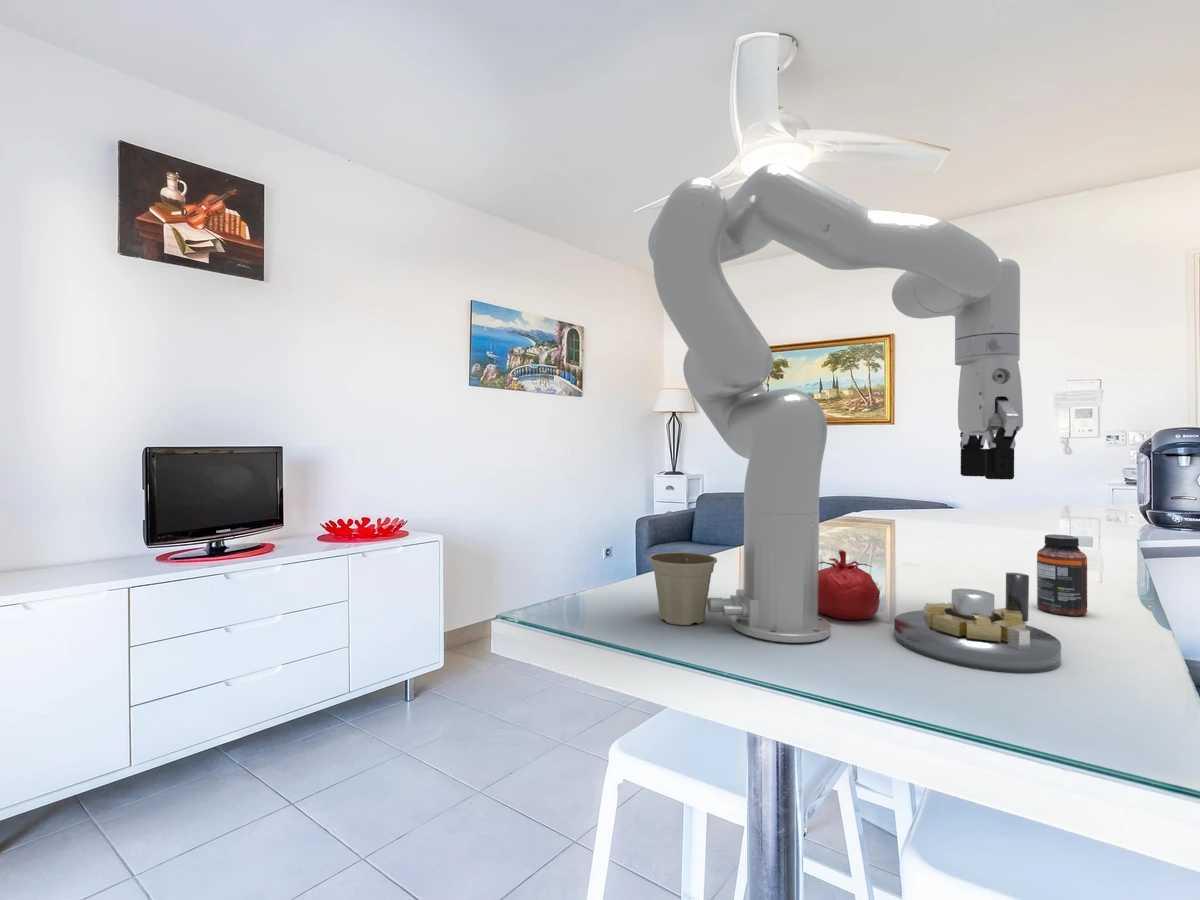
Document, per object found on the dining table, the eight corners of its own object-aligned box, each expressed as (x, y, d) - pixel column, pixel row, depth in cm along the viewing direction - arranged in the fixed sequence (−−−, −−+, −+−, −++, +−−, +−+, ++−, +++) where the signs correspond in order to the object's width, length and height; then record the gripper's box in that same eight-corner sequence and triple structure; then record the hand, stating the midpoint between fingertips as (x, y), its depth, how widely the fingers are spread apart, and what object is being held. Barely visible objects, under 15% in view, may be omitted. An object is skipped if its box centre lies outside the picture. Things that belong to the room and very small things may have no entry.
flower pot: (643, 610, 86) (643, 551, 85) (706, 609, 86) (706, 551, 86) (654, 630, 76) (655, 564, 76) (725, 629, 77) (725, 563, 77)
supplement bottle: (1068, 606, 90) (1069, 533, 90) (1097, 618, 84) (1098, 539, 84) (1027, 605, 91) (1028, 532, 91) (1053, 616, 85) (1054, 538, 85)
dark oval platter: (954, 674, 62) (955, 613, 62) (867, 626, 79) (868, 578, 79) (1102, 671, 63) (1102, 611, 63) (985, 624, 80) (985, 576, 80)
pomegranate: (833, 627, 78) (834, 558, 78) (794, 607, 88) (794, 546, 88) (897, 623, 80) (898, 556, 80) (852, 604, 90) (853, 544, 90)
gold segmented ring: (988, 645, 65) (989, 593, 64) (907, 620, 74) (908, 575, 74) (1066, 628, 71) (1067, 582, 71) (983, 608, 80) (983, 566, 80)
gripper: (1049, 339, 72) (1048, 481, 72) (991, 360, 88) (990, 475, 88) (980, 342, 73) (979, 480, 73) (936, 362, 90) (935, 474, 90)
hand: (985, 477), depth 81 cm, fingers open, 8 cm apart
